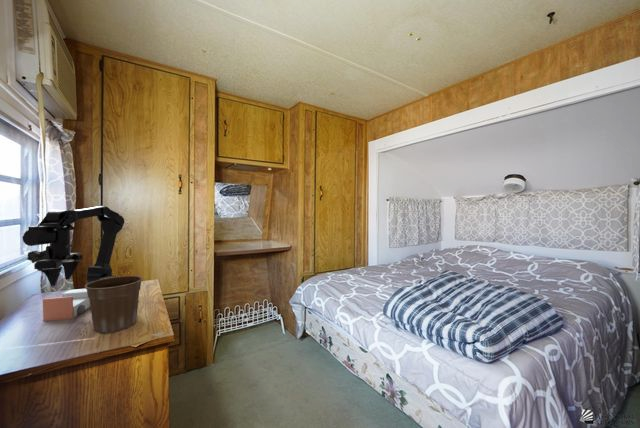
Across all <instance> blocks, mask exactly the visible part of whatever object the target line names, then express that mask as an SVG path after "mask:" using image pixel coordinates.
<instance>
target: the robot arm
mask: <svg viewBox="0 0 640 428" xmlns="http://www.w3.org/2000/svg"><path fill="white" fill-rule="evenodd" d="M93 217H96V219H97V220H98V222H100V223H101V224H100V228H101V230H102V232H103V233H102V237H101V241H100V244H99V245H100V246H99V249H98V253H97V256H96V260H95V263H94V264H93V266H89V267H88V268H87V273H86V274H85V277H86V281H87V282H88V283H90V282H93V281H97V280H99V279H100V278H103V277H109V276H113V273H112V272H113V269H112V267H111V265H110V263H111V259H112V255H113V251H114V247H115V242H116V240H117V239H116V238H117V234H119V232H120V231H121V230H122V229H123V227H124V224H125V218H124V217H123V216H122V214H121V215H120V213H119V212H116V211H114V210H113V209H111V208H109V207H108V206H106V205H105V206H104V205H96V206H93V207H87V208H80V209H71V210H70V209H51V210H48V211H47V213H46V215H45V216H44V218H43V219H42V220H41V221H40V223H38V225H37V226H32V225H31V226H28V230H26V231H25V232H24V233H23V235H22V241H23V243H24V244H25V245H26V246H29V247H34V246H43V245H47V246H46V247H45V250H42V251H37V250H33V251H29V252H28V253H27V258H26V260H28V261H31V263H32V264H33V266H34V267H33V268H34V270H37V272H42V273H44V275H45V276H46V278H47V280H48V282H49V284H50V286H52V287H54V286H56V285H57V282H58V280H59V277H60V274H61V272H62V269H63V272H64V278H65V280H70V279H71V277H72V276H73V274H74V272H75V271H76V268H77V267H78V265H79V264H80V263H81V261H82V260H83V253H81V252H71V248H72V247H74V243H71V231H75V230H76V229H77V228H76V227H75V226H73V225H72V224H73V223H76V222H78V221H79V220H83V219H88V218H93ZM88 283H87V284H88Z"/></svg>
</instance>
